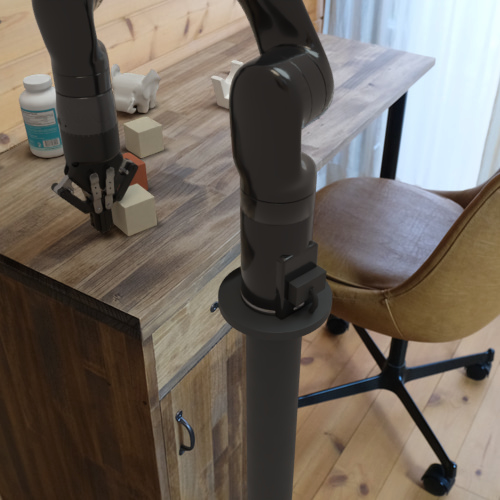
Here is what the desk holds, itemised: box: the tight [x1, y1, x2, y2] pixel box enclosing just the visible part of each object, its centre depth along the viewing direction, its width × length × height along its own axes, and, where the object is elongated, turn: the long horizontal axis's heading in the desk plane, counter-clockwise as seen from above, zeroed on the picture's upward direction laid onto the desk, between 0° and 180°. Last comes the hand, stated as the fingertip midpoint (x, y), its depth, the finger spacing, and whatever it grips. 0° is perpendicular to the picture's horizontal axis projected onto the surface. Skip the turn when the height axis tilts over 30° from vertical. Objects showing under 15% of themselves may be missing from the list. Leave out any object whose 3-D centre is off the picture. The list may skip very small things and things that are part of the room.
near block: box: [111, 184, 158, 237], centre depth 97 cm, size 5×5×5 cm
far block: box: [122, 115, 165, 159], centre depth 116 cm, size 5×5×5 cm
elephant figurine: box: [110, 63, 162, 115], centre depth 129 cm, size 10×12×9 cm
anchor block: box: [117, 151, 149, 191], centre depth 105 cm, size 5×5×5 cm
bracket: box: [210, 59, 245, 110], centre depth 130 cm, size 13×7×8 cm, turn 49°
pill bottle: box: [18, 73, 64, 159], centre depth 114 cm, size 8×7×14 cm
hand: (103, 229), depth 95 cm, fingers closed
